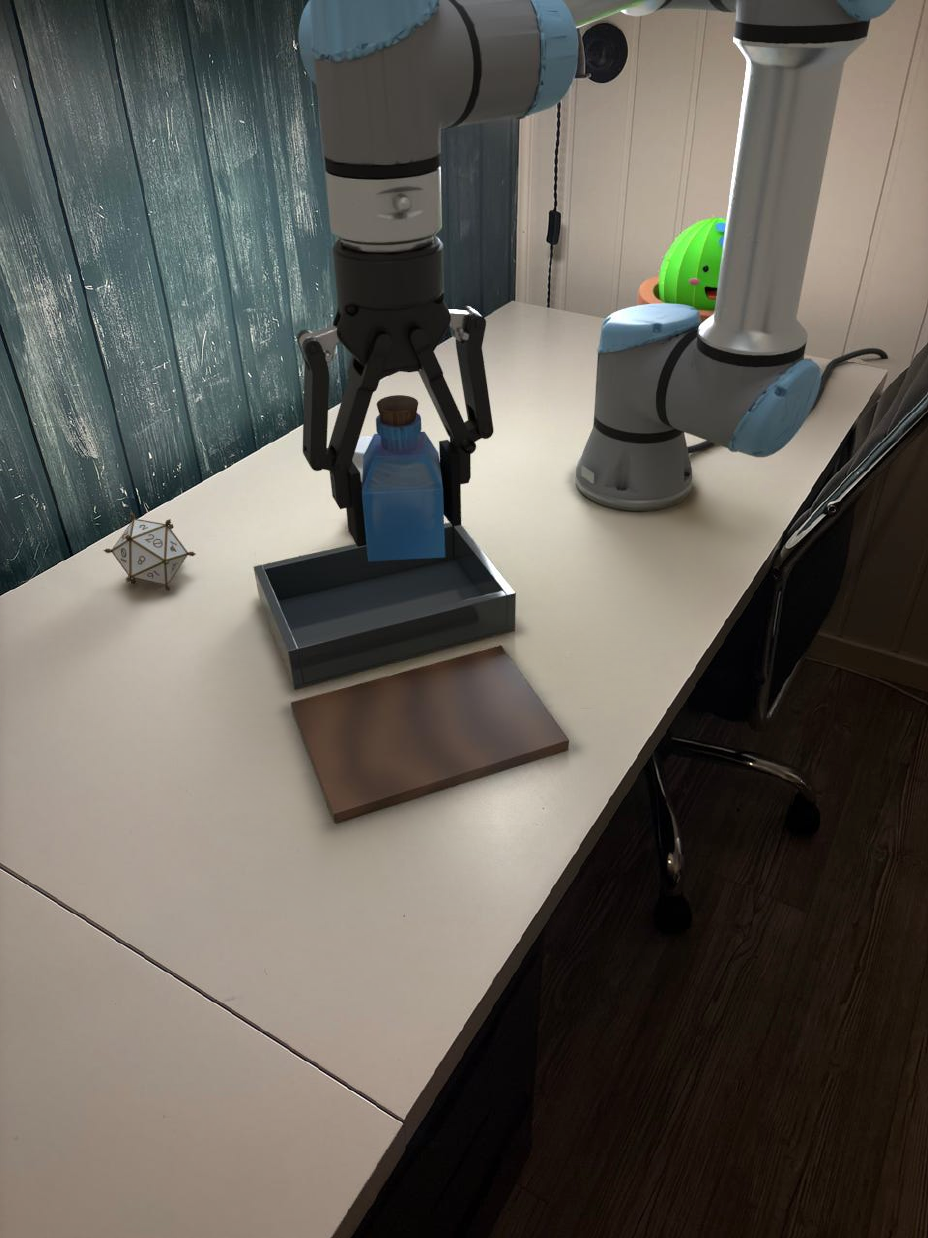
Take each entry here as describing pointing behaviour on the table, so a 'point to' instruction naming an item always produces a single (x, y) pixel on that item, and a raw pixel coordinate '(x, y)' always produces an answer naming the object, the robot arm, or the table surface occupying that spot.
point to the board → (423, 731)
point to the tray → (380, 607)
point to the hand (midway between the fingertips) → (405, 527)
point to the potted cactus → (689, 269)
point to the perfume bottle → (402, 486)
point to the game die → (149, 552)
